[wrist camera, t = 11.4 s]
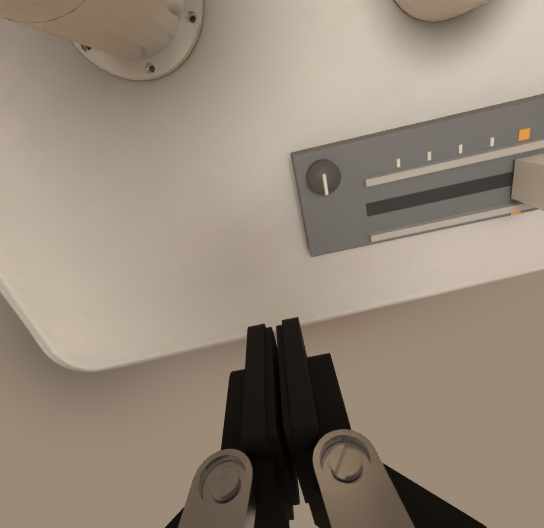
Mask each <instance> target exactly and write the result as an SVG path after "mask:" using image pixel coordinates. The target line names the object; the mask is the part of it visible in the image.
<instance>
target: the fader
mask: <svg viewBox="0 0 544 528" xmlns="http://www.w3.org/2000/svg"><path fill="white" fill-rule="evenodd" d="M511 199H514V200H517V201H519V202H522V203H525V204H527V205H530V206H533V207H535V208H538V209H541V210H543V211H544V154H543V153H541V154H536V155H532V156H527V157H523V158H518V159H515V166H514V176H513V185H512V195H511Z"/></svg>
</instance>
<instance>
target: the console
mask: <svg viewBox="0 0 544 528" xmlns="http://www.w3.org/2000/svg"><path fill="white" fill-rule="evenodd" d="M541 153H543V154H544V94H541V95H536V96H532V97H528V98H523V99H519V100H515V101H511V102H506V103H502V104H498V105H493V106H489V107H485V108H481V109H476V110H472V111H468V112H463V113H459V114H455V115H450V116H446V117H442V118H438V119H433V120H429V121H425V122H420V123H416V124H412V125H408V126H403V127H399V128H395V129H390V130H386V131H382V132H378V133H373V134H369V135H365V136H360V137H356V138H352V139H348V140H343V141H339V142H335V143H330V144H326V145H322V146H318V147H313V148H309V149H305V150H300V151H296V152H292V153H291V156H292V161H293V167H294V172H295V178H296V183H297V188H298V194H299V199H300V204H301V210H302V215H303V221H304V226H305V231H306V237H307V242H308V248H309V251H310V254H311V257H314V256H319V255H324V254H328V253H333V252H338V251H343V250H347V249H352V248H357V247H362V246H366V245H371V244H376V243H381V242H385V241H390V240H395V239H400V238H404V237H409V236H414V235H419V234H423V233H428V232H433V231H438V230H442V229H447V228H452V227H457V226H461V225H466V224H471V223H476V222H480V221H485V220H490V219H495V218H499V217H504V216H509V215H515V214H520V213H523V212H528V211H533V210H537V209H538V208H535V207H533V206H530V205H527V204H525V203H522V202H519V201H517V200H514V199H511V195H512V185H513V176H514V166H515V159H518V158H523V157H527V156H532V155H536V154H541Z"/></svg>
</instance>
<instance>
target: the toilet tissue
mask: <svg viewBox="0 0 544 528" xmlns="http://www.w3.org/2000/svg"><path fill="white" fill-rule="evenodd" d="M395 1H396V3H397V4H398V5H399V6H400V7H401V9H402V10H404V11H405V12H406V13H408V14H409V15H410V16H412V17H415V18H417V19H420V20H422V21H430V22H437V21H444V20H447V19H450V18H453V17H456V16H460V15H462V14H464V13H465V12H467V11H469V10H472V9H474V8H476V7H479V6H481V5H483V4H487V3H488V2H490V1H491V0H395Z"/></svg>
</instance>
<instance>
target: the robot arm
mask: <svg viewBox="0 0 544 528" xmlns="http://www.w3.org/2000/svg"><path fill="white" fill-rule="evenodd" d="M203 14H204V0H0V16H1V17H3V18H6V19H9V20H11V21H14V22H17V23H20V24H23V25H26V26H29V27H32V28H35V29H38V30H41V31H44V32H47V33H50V34H53V35H56V36H59V37H62V38H64V39H67V40H70V41H71V42H72V44H73V45H74V46H75V47H76V48H77V49H78V50H79V51H80V52H81V53H82V54H83V55H84V56H85V57H86V58H87V59H88V60H90V61H91V62H92V63H93V64H95V65H96V66H97V67H99V68H101V69H103V70H104V71H106V72H108V73H110V74H113V75H116V76H119V77H121V78H125V79H130V80H152V79H157V78H160V77H163V76H165V75H167V74H169V73H171V72H173V71H174V70H175V69H176V68H178V67H179V66H180V65H182V63H183V62H184V61H185V60H186V59H187V57H188V56H189V55H190V53H191V52H192V50H193V48H194V46H195V44H196V42H197V40H198V37H199V34H200V31H201V27H202V21H203ZM191 17H195V18H196V21H195V22H194V23H192V22H191V21H190V19H191ZM88 47H91V50H89V49H88ZM151 66H154V68H155V71H154V72H151V70H150V68H151ZM276 330H277V344H276V341H275V337H274V333H273V330H272V327H268V328H266V326H265V324H261V325H256V326H250V327H248V330H247V347H246V363H245V369H243V370H239V371H233V372H231V373H230V377H229V386H228V394H227V403H226V411H225V420H224V428H223V437H222V445H221V450H220V451H218V452H216V453H214V454H212V455H211V456H209V457H208V458H207V459H206V460H205V461H204V462H203V463H202V464H201V466H200V467H199V468H198V470H197V472H196V474H195V476H194V478H193V481H192V485H191V488H190V491H189V494H188V497H187V501H186V504H185V507H184V508H183V509H182V510H181V511H180V512H179V513H178V514H177V515H176V516H175V517H174V518H173V519H172V521H171V522H170V523H169V524H168V525H167V526H166V527H165V528H289V520H294V512H293V505H299V504H300V498H299V488H298V480H299V483H300V486H301V490H302V493H303V496H304V500H305V503H309V506H310V509H311V512H312V516H313V519H314V523H315V525H317V526H318V527H319V528H487V527H486V526H484V525H483V524H482V523H480V522H478V521H477V520H475V519H473V518H472V517H470V516H469V515H467V514H465V513H464V512H462V511H460V510H459V509H457V508H455V507H454V506H452V505H451V504H449V503H447V502H446V501H444V500H442V499H441V498H439V497H437V496H436V495H434V494H433V493H431V492H429V491H428V490H426V489H424V488H423V487H421V486H419V485H418V484H416V483H414V482H413V481H411V480H410V479H408V478H406V477H405V476H403V475H401V474H400V473H398V472H396V471H395V470H393V469H392V468H390V467H388V466H387V465H385V464H383V463H382V462H381V460H380V458H379V456H378V454H377V452H376V450H375V448H374V447H373V445H372V444H371V442H370V441H369V440H368V439H367V438H366V437H364V436H363V435H362V434H360V433H358V432H355V431H353V430H351V427H350V423H349V420H348V416H347V413H346V409H345V405H344V402H343V398H342V395H341V391H340V388H339V384H338V380H337V377H336V373H335V370H334V366H333V362H332V359H331V355H330V353H328V354H323V355H317V356H312V357H307V355H306V350H305V346H304V341H303V337H302V332H301V328H300V323H299V319H298V317H296V318H291V319H286V320H282V325H278V326H276ZM277 345H278V348H277Z"/></svg>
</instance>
